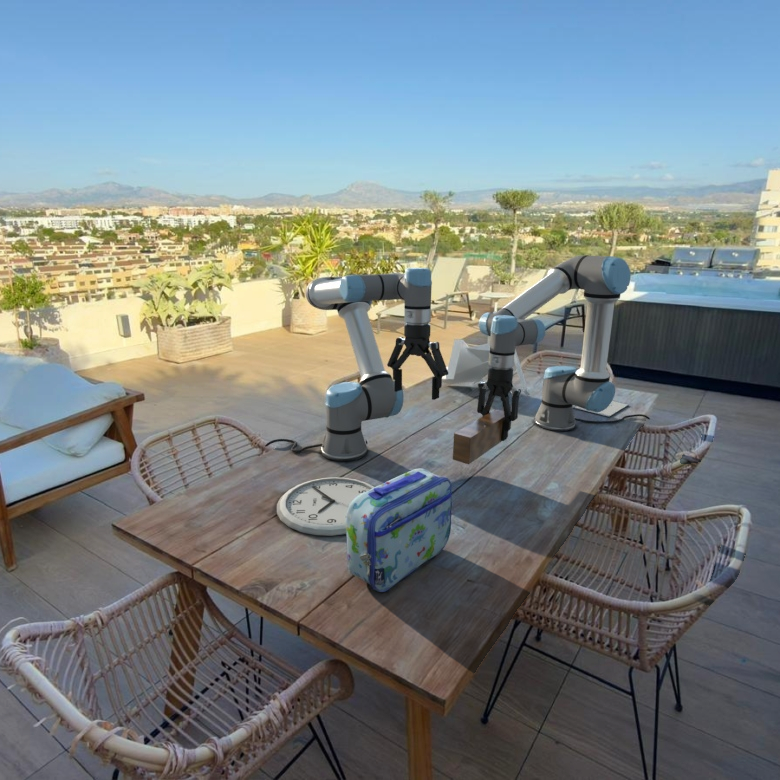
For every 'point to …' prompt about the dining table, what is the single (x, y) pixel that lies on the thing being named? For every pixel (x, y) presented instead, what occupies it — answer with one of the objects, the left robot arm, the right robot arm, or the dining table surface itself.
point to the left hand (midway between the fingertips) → (416, 394)
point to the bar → (478, 437)
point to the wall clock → (320, 505)
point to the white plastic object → (474, 364)
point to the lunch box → (398, 527)
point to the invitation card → (608, 409)
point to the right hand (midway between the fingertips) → (495, 437)
